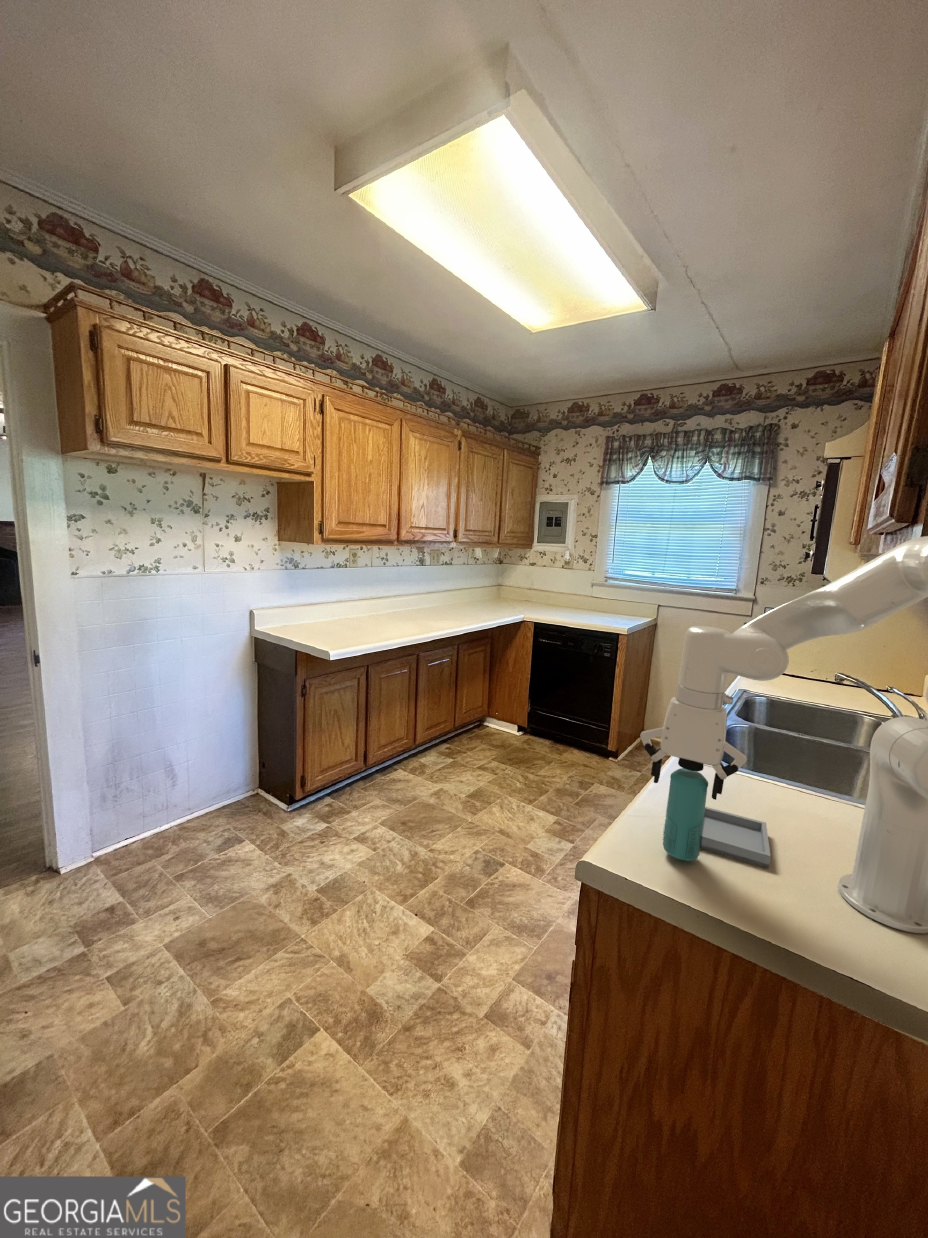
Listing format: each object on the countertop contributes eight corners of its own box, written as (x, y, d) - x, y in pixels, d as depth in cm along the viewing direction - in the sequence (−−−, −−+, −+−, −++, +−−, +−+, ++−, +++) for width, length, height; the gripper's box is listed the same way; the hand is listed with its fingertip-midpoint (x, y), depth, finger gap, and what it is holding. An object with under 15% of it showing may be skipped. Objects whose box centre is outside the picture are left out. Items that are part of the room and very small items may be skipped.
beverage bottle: (703, 872, 88) (718, 765, 85) (663, 865, 89) (676, 760, 86) (694, 850, 94) (707, 750, 91) (657, 844, 96) (669, 745, 93)
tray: (764, 834, 101) (766, 822, 101) (768, 869, 90) (770, 856, 90) (694, 815, 107) (695, 804, 107) (690, 845, 96) (691, 833, 96)
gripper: (754, 702, 87) (738, 794, 89) (650, 682, 94) (638, 767, 97) (756, 714, 80) (739, 812, 83) (644, 691, 88) (631, 782, 91)
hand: (684, 788), depth 90 cm, fingers open, 9 cm apart
